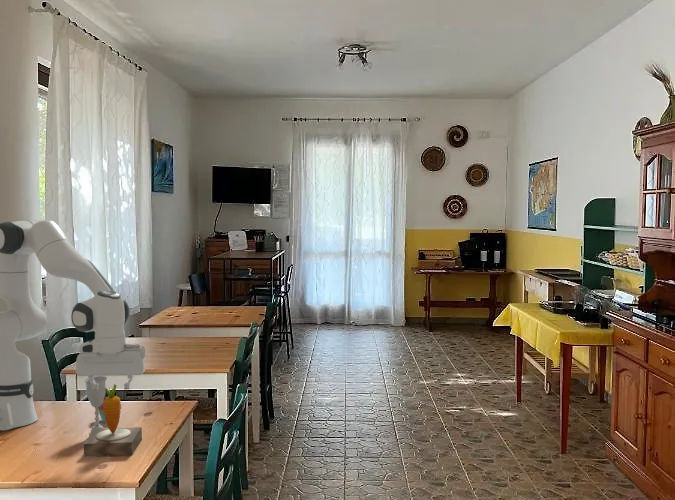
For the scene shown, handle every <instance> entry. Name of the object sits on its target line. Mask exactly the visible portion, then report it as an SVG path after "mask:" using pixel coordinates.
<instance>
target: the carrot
mask: <svg viewBox="0 0 675 500" xmlns="http://www.w3.org/2000/svg"><path fill="white" fill-rule="evenodd" d="M116 388H117V384H116V383H115V384H113V386H112V388H111V390H110V393H109V390H108V389H109V388H107V387H106V388H105V391H106V394H107V396H106V397H104V415H105V419H106V422H105V423H106V426H107V428H109V430H110V431H111V433H113V434H114V432H115V431H116V429H117V428H118V426H119V423H120V417H121V409H120V403H121V398H120V397H119V396H117V395H115V393H116V390H117V389H116ZM108 396H109V397H108Z"/></svg>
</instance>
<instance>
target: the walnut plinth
mask: <svg viewBox="0 0 675 500" xmlns="http://www.w3.org/2000/svg"><path fill="white" fill-rule="evenodd" d="M103 428H104V429H96V430H95V431H94V432H93V434H92V435H90V436H89V437H88V438H87V439H86V440H85V442H83V458H97V457H101V458H102V457H123V456H124V457H125V456H133V454H134V453H135V452H136V451H137V448H138V447H139V446H140V444H141V442H142V440H143V430H142V429H143V427H142V426H141V427H140V426H138V427H137V426H136V427H117V429H116V431H115V432H114V434H113V433H111V431H110V430H109V428H108V427H106V428H105V427H103Z"/></svg>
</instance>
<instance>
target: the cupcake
mask: <svg viewBox="0 0 675 500" xmlns="http://www.w3.org/2000/svg"><path fill="white" fill-rule="evenodd" d="M107 389H108V390H109V393H110V391H111V389H110V387H108V388H107ZM107 397H109V396H108V395H107ZM104 400H105V399H104ZM104 400H103V402H102V404H101V406H99V407H98V410H99V417H100V420H101V421H102V422H103V423H106V419H105V415H104ZM121 403H122V402H120V410H121V409H122V404H121Z"/></svg>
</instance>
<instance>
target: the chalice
mask: <svg viewBox="0 0 675 500" xmlns="http://www.w3.org/2000/svg"><path fill="white" fill-rule="evenodd" d="M93 379H94V380H95V382H96V383H99V389H98V390H93V388H92V384H91V382H90V381H89V380H88V377H87V378H85V379H84V382H85V385H86V386H85V388H86V390H85V391H86V392H85V393H86V397H87V399H88V401H89V403H90V405H91V406H92V408H94V409H95V411H94V415H95V418H94V421H95V424H94V425H93V426H92V427H91V430H90V432H89V435H90V436H91V435H92V434H93V432H94V431H95V430H96V429H104V428H105V427H104V425H102V424H100V420H101V417H100V414H99V410H98V407H99V406H101V404H102V402H103V400H105V398H106V394H107V392H106V391H105V388H107V387H106V386H107V384H106V382H107V379H108V378H107V376H95V378H93Z"/></svg>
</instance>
